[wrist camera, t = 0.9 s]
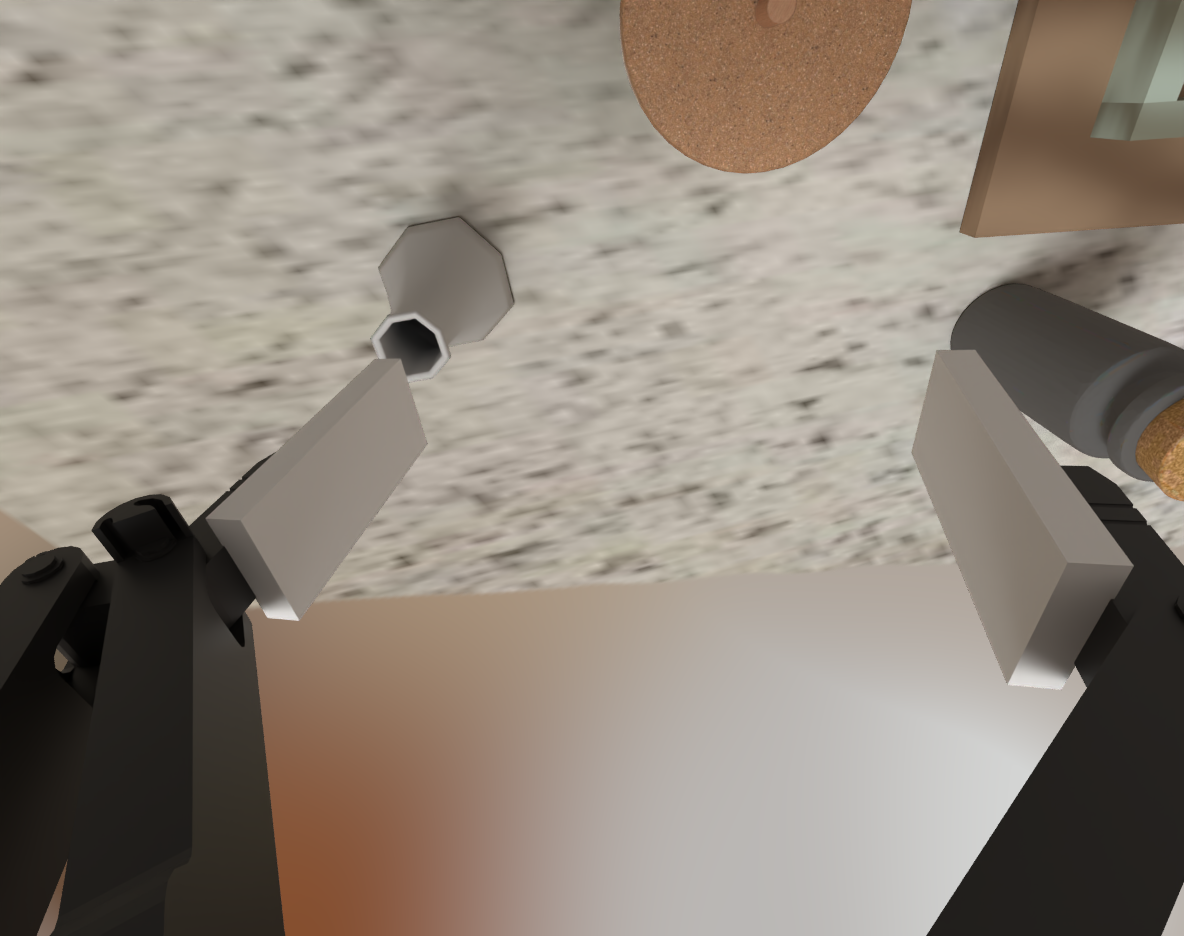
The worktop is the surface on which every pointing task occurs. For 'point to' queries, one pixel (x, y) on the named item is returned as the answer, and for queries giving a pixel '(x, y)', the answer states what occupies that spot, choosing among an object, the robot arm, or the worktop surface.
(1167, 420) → the bottle
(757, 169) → the lidded jar
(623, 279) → the worktop surface
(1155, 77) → the socket board
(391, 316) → the flask
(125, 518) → the robot arm
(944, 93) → the worktop surface
